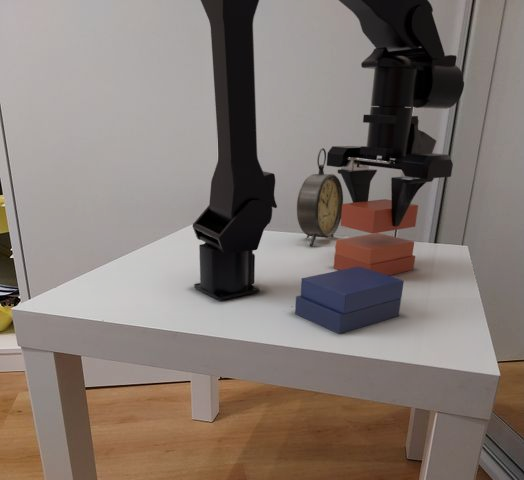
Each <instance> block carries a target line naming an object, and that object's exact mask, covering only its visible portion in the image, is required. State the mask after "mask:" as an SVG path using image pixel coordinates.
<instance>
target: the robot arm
mask: <svg viewBox="0 0 524 480" xmlns="http://www.w3.org/2000/svg"><path fill="white" fill-rule="evenodd" d="M338 2H340V3H341V4H342V5H344V6H345V7H346V8H347V9H348V10H350V11H351V12H352V14H354V16H356V18H357V19H358V21H359V25H360V28H361V31H362V33H363V34H364V35H365V36H366V38H367V39H368V40H369V42H370V43H371V44H372V45H373V47H375V48H374V49H373V50H372V52H371V54H370V55H368V56H367V57H366V58H365V59H364V60H363V61H361V63H360V66H361V68H362V69H369V70H370V69H371V70H373V71H374V72H373V80H372V81H373V82H372V90H371V91H372V92H371V102H370V111H369V114H363V119H362V123H365V124H366V123H367V124H368V129H367V138H366V140H367V141H366V145H361V146H359V145H357V146H356V145H332V146H331V147H330V149H329V150H328V151H327V152H326V166H327V167H334V168H338V169H337V174H338V175H339V174H340V176H341V178H342V180H343V182H344V184H345V186H346V189H347V191H348V193H349V196H350V198H351V201H352V203H355V202H364V201H369V196H370V190H371V189H370V188H371V182H372V180H373V178H374V177H375V175H376V174H377V172H378V169H373V168H370V167H376V168H385V169H393V170H401V176H393V177H391V182H390V183H391V184H390V185H391V187H390V190H391V198H390V200H392V224H393V226H395V227H396V226H399V225H400V223H401V221H402V219H403V217H404V215H405V213H406V211H407V209H408V207H409V205H410V204H412V201H413V200H414V198H415V196H416V194H417V193H418V192H419V190H420V189H422V187H423V186H424V185H425V184H426V183H432V182H433V181H434V180H435V179H441V178H451V177H452V173H453V165H454V164H453V159H452V158H451V156H450V154H446V153H445V154H444V153H435V152H434V151H435V150H434V149H435V146H436V144H437V139H435V138H434V137H432V136H431V135H429V134H428V133H426V132H425V131H422V130H421V129H419V122H420V120H419V116H418V115H413V113H414V112H413V111H414V109H435V110H437V109H440V110H447V109H449V108H452V107H454V106H455V105H456V104H457V103H458V102H459V100H460V98H461V96H462V94H463V92H464V88H465V81H464V76H463V72H462V70H461V68H460V67H459V66H457V65H456V64H457V59H458V58H457V55H455V54H447V55H446V53H445V50H444V47H443V44H442V41H441V37H440V34H439V31H438V28H437V24H436V21H435V18H434V15H433V12H434V8H433V6H432V3H431V2H430V0H338ZM200 3H201V5H202V7H203V10H204V12H205V14H206V17H207V19H208V21H209V27H210V40H211V53H212V54H211V55H212V57H211V58H212V69H213V70H212V72H213V87H214V102H215V103H214V105H215V119H216V135H217V150H218V152H217V153H218V158H217V162H216V166H215V168H214V172H213V175H212V178H211V182H210V193H209V204H208V205H207V207H206V208H205V209H204V211H202V213H201V214H200V215H199V216H198V218H196V220H195V221H194V222H193V224H192V229H193V231H194V234H195V237H196V239H197V240H199V241H202V242H203V243H201V244H199V246H198V247H199V248H198V249H199V282H197V283H194V284H193V288H194V289H196V290H198V291H200V292H201V293H204V294H206V295H207V296H209V297H211V298H214V299H215V300H217V301H223V300H228V299H232V298H238V297H242V296H246V295H247V296H248V295H251V294H255V293H256V294H257V293H259V292H260V288H259V287H258V286H255V275H256V274H255V273H256V271H255V268H256V254H254V252H253V251H257V250H259V249H258V248H259V245H260V243H261V241H262V240H261V239H262V236H263V234H264V230H265V229H266V228H267V226H268V225H269V224H271V221H272V218H273V209H277V208H278V204H277V202H276V198H275V190H276V189H275V188H276V175H275V173H273V172H268V171H265V170H263V168H262V166H261V164H260V161H259V158H258V138H257V137H258V136H257V135H258V134H257V107H256V106H257V105H256V80H255V79H256V75H255V73H256V72H255V44H254V40H255V39H254V19H255V15H256V12H257V9H258V5H259V3H260V0H200ZM378 157H379V158H378ZM339 168H340V169H339Z"/></svg>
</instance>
